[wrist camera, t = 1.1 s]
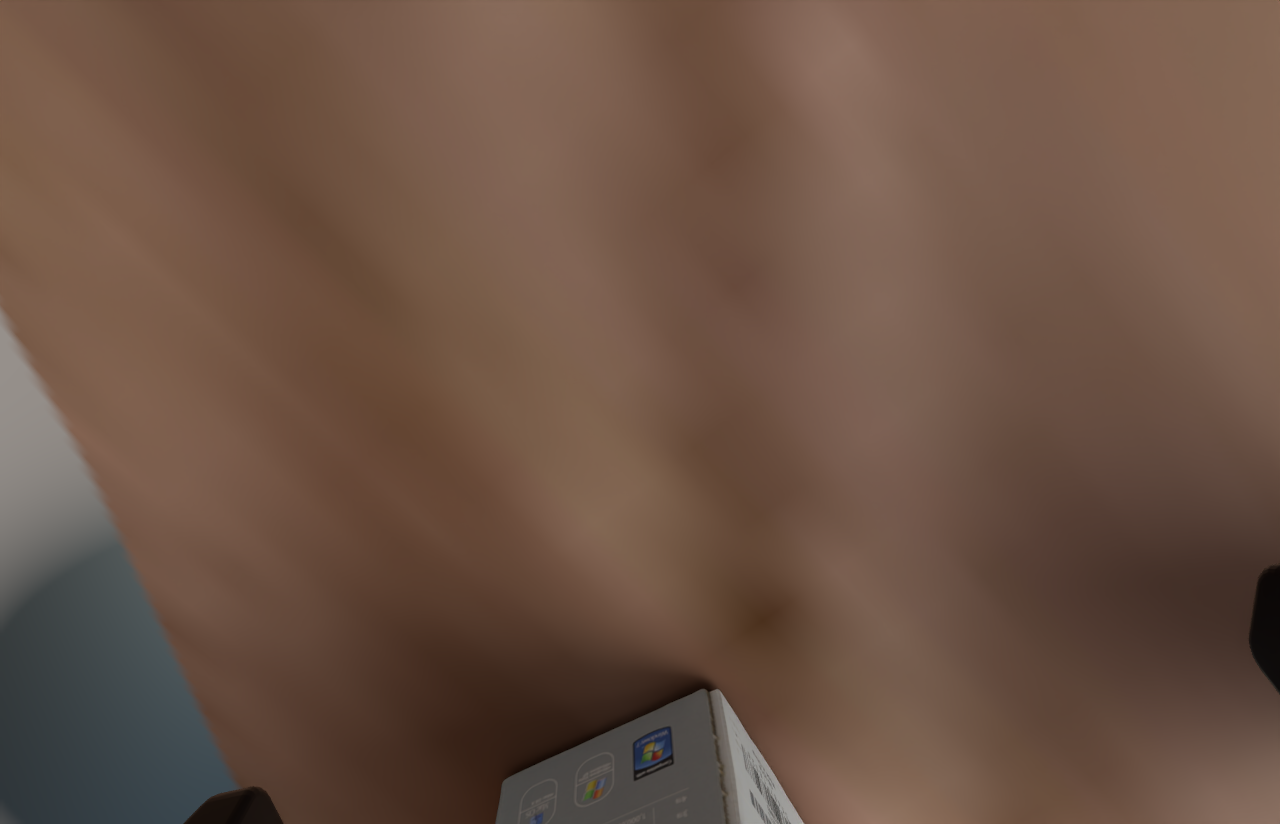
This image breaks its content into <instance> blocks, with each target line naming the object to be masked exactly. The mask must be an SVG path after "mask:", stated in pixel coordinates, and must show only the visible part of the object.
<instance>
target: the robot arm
mask: <svg viewBox="0 0 1280 824" xmlns="http://www.w3.org/2000/svg"><path fill="white" fill-rule="evenodd" d="M1249 645H1250V649H1251V652H1252V655H1253V657H1254V659H1255V661H1256V663H1257V665H1258V666H1259V668H1260V669H1261V671H1262V672H1263V673H1264V675H1265V676H1266V677H1267V678H1268V680H1269V681H1270V682H1271V684H1272V685H1273V686H1274V688H1275V689H1276V690H1277V692H1278V693H1279V694H1280V564H1275V565H1271V566H1269V567H1267V568H1265V569H1264V570H1263V571H1262V573H1261V574H1260V575H1259V577H1258V580H1257V585H1256V592H1255V598H1254V605H1253V611H1252V618H1251V624H1250V631H1249ZM184 824H283V822H282V820H281V818H280V816H279V814H278V812H277V810H276V808H275V806H274V804H273V802H272V800H271V798H270V797H269V795H268V794H267V792H266V791H264V790H263V789H262V788H260V787H248V788H243V789H238V790H234V791H229V792H225V793H220V794H217V795H215V796H213V797H211V798H209V799H208V800H207V801H206V802H205V803H203V804H202V805H201V806H200V807H199V808H198V809H197V810H196V811H195V812H194V813H193V814H192V815H191V816H190V817H189V818H188V820H187V821H186V822H185V823H184Z"/></svg>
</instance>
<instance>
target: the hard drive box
mask: <svg viewBox="0 0 1280 824" xmlns="http://www.w3.org/2000/svg"><path fill="white" fill-rule="evenodd" d="M495 824H804V823H803V821H802V820H801V818H800V816H799V815H798V813H797V811H796V810H795V808H794V807H793V805H792V803H791V802H790V800H789V799H788V797H787V795H786V794H785V792H784V790H783V788H782V787H781V785H780V783H779V782H778V780H777V778H776V777H775V775H774V773H773V772H772V770H771V769H770V767H769V765H768V764H767V762H766V761H765V759H764V758H763V756H762V755H761V753H760V752H759V750H758V749H757V747H756V746H755V744H754V743H753V742H752V740H751V739H750V737H749V735H748V734H747V732H746V730H745V729H744V727H743V726H742V724H741V722H740V721H739V719H738V717H737V716H736V714H735V713H734V711H733V710H732V708H731V707H730V705H729V704H728V702H727V701H726V699H725V697H724V696H723V694H722V693H721V691H720V690H719V689H715V690H713V691H711V692H708V691H707V690H705V689H700V690H698V691H696V692H695V693H693V694H691V695H688V696H686V697H683V698H681V699H679V700H676V701H674V702H671V703H669V704H667V705H665V706H663V707H661V708H659V709H657V710H655V711H653V712H651V713H649V714H646V715H644V716H642V717H639V718H637V719H635V720H633V721H631V722H628V723H626V724H624V725H622V726H620V727H617V728H615V729H613V730H611V731H609V732H606V733H604V734H602V735H600V736H597V737H595V738H593V739H591V740H589V741H587V742H584V743H582V744H580V745H578V746H576V747H574V748H572V749H569V750H567V751H565V752H562V753H560V754H558V755H556V756H553V757H551V758H549V759H547V760H544V761H542V762H540V763H538V764H536V765H533V766H531V767H529V768H527V769H525V770H523V771H520V772H518V773H516V774H514V775H512V776H510V777H508V778H507V779H505V780H504V781H503V783H502V787H501V796H500V801H499V807H498V812H497V817H496V823H495Z"/></svg>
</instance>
